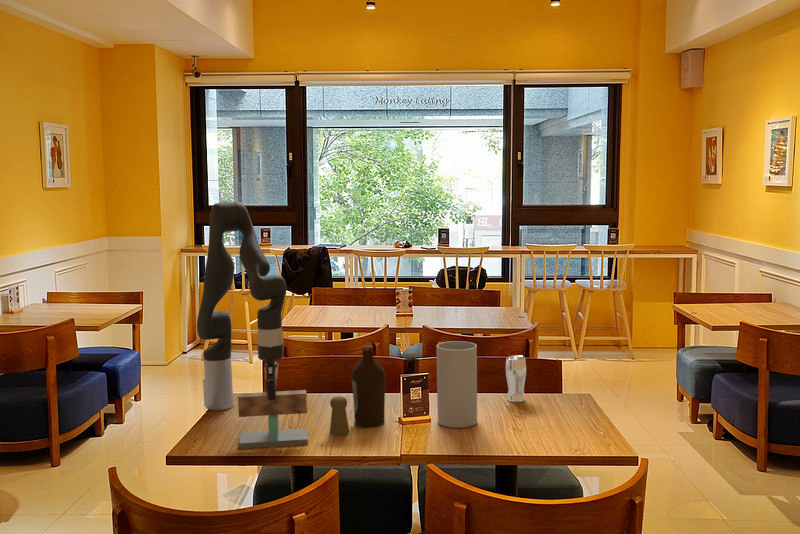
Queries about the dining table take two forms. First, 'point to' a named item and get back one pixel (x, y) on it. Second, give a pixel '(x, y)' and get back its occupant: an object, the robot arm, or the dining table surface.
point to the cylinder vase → (457, 384)
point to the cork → (339, 416)
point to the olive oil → (368, 390)
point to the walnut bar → (272, 403)
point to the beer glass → (515, 377)
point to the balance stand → (273, 436)
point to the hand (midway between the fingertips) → (272, 395)
